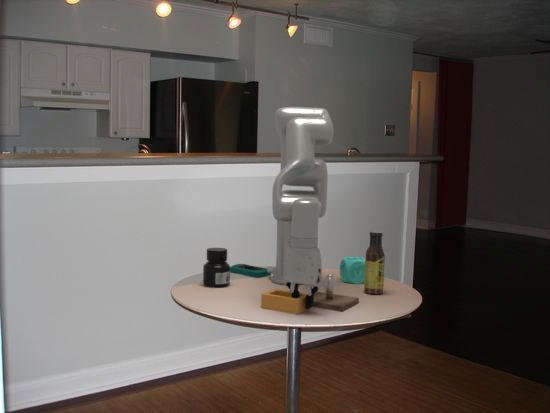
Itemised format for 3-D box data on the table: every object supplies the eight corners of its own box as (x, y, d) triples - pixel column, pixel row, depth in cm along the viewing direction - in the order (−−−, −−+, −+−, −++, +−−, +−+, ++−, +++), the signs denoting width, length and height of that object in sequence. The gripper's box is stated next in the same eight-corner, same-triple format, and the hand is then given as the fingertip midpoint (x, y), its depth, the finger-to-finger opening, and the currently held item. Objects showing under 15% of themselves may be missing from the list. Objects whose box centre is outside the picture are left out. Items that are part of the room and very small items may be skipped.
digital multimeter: (241, 270, 227) (242, 262, 226) (271, 276, 217) (271, 268, 217) (228, 273, 221) (228, 265, 221) (258, 279, 211) (258, 271, 211)
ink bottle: (222, 289, 194) (222, 252, 192) (197, 286, 197) (198, 250, 195) (234, 283, 203) (235, 248, 201) (211, 280, 206) (211, 246, 204)
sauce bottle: (381, 295, 190) (384, 233, 188) (361, 293, 192) (364, 232, 190) (384, 291, 196) (387, 231, 194) (366, 289, 198) (368, 229, 197)
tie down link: (261, 307, 173) (261, 294, 172) (275, 301, 179) (275, 288, 179) (297, 314, 166) (298, 300, 166) (310, 308, 173) (311, 294, 173)
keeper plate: (298, 304, 178) (299, 274, 177) (316, 296, 188) (317, 267, 187) (342, 311, 171) (343, 280, 170) (358, 302, 181) (359, 273, 180)
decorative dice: (339, 279, 214) (339, 256, 213) (360, 278, 215) (361, 256, 215) (346, 284, 206) (347, 261, 205) (368, 283, 208) (369, 260, 207)
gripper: (272, 241, 169) (270, 305, 171) (325, 248, 161) (322, 314, 163) (285, 238, 176) (283, 300, 178) (336, 244, 168) (334, 308, 169)
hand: (302, 306), depth 170 cm, fingers open, 3 cm apart
